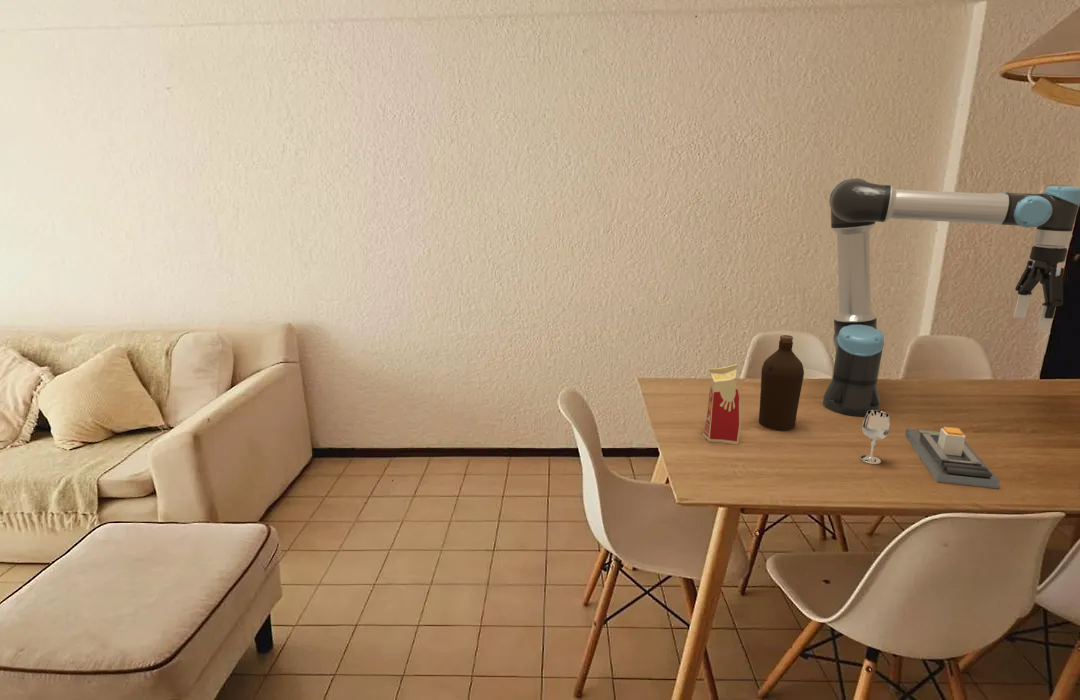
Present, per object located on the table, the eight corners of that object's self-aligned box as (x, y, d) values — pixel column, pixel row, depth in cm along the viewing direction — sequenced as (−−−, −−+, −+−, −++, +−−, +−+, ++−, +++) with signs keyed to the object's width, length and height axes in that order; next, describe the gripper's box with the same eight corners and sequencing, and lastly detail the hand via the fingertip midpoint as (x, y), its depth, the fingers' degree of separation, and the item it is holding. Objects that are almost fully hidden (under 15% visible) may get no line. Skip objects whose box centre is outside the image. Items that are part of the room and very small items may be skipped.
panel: (936, 481, 142) (939, 468, 141) (905, 435, 166) (907, 423, 165) (997, 488, 139) (1000, 475, 138) (956, 440, 163) (958, 428, 162)
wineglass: (855, 461, 151) (863, 415, 148) (858, 452, 156) (865, 407, 153) (882, 467, 148) (891, 420, 145) (884, 458, 153) (892, 412, 150)
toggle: (942, 454, 150) (946, 432, 149) (937, 447, 154) (941, 426, 153) (961, 456, 149) (965, 434, 148) (955, 448, 153) (959, 427, 152)
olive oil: (794, 435, 166) (805, 344, 159) (752, 427, 171) (761, 338, 164) (799, 421, 175) (810, 334, 168) (760, 413, 180) (769, 329, 173)
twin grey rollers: (948, 474, 141) (949, 468, 141) (942, 467, 144) (943, 461, 144) (992, 479, 139) (993, 473, 138) (986, 471, 142) (987, 466, 142)
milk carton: (736, 430, 169) (743, 359, 163) (740, 444, 160) (747, 370, 155) (701, 427, 171) (707, 357, 165) (703, 441, 162) (709, 368, 156)
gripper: (1093, 253, 155) (1071, 336, 161) (1042, 241, 178) (1024, 313, 185) (1058, 251, 157) (1037, 333, 163) (1012, 239, 180) (995, 312, 186)
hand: (1030, 323), depth 174 cm, fingers open, 13 cm apart
